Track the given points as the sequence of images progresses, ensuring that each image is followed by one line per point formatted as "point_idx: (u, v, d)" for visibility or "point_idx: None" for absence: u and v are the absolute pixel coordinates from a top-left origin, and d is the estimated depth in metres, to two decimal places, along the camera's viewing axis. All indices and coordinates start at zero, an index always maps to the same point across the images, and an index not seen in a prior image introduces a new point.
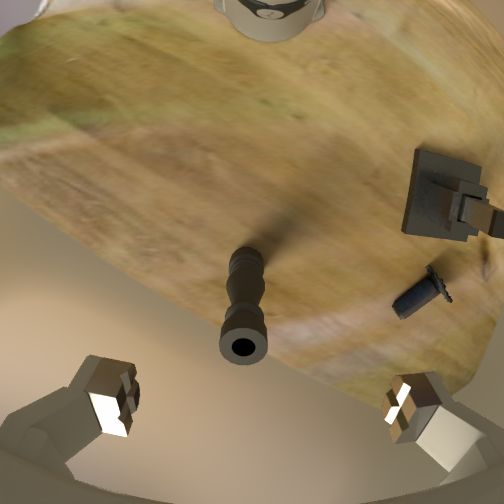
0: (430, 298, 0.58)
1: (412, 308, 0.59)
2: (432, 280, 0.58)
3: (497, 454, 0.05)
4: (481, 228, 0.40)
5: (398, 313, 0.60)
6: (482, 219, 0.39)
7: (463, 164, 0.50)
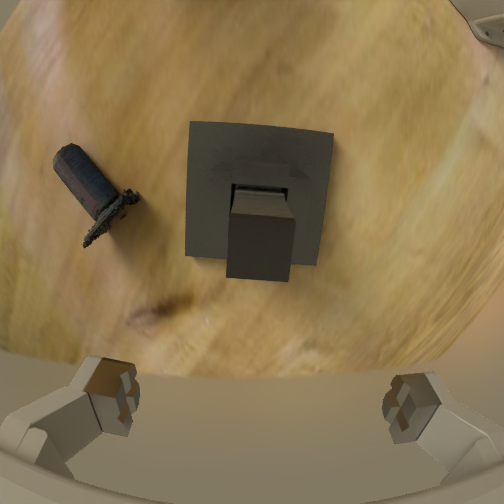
0: (86, 202, 0.34)
1: (68, 172, 0.33)
2: None
3: (497, 454, 0.05)
4: (238, 206, 0.22)
5: (61, 150, 0.32)
6: (257, 207, 0.22)
7: (317, 224, 0.37)
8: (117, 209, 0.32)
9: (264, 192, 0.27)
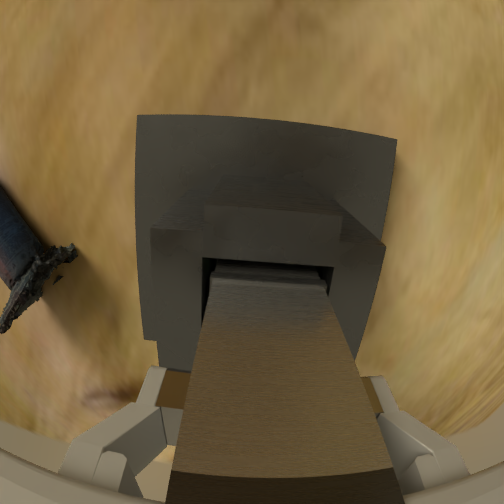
0: None
1: None
2: None
3: (440, 474, 0.05)
4: (204, 400, 0.06)
5: None
6: (269, 399, 0.06)
7: None
8: (29, 287, 0.17)
9: (280, 282, 0.11)
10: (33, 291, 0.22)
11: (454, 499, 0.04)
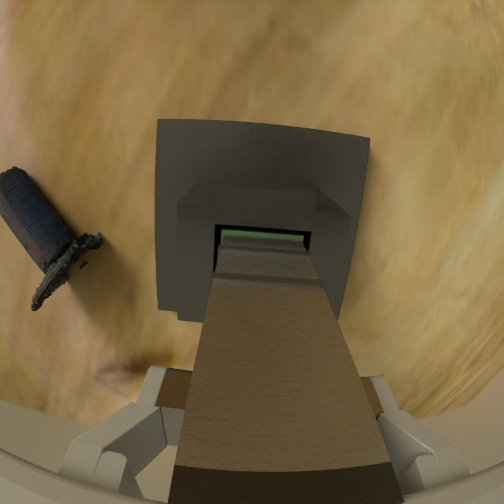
0: (31, 250, 0.23)
1: (8, 209, 0.21)
2: None
3: (441, 474, 0.05)
4: (205, 397, 0.06)
5: None
6: (269, 396, 0.06)
7: (342, 268, 0.26)
8: (66, 267, 0.21)
9: (279, 282, 0.12)
10: (62, 274, 0.26)
11: (454, 499, 0.04)
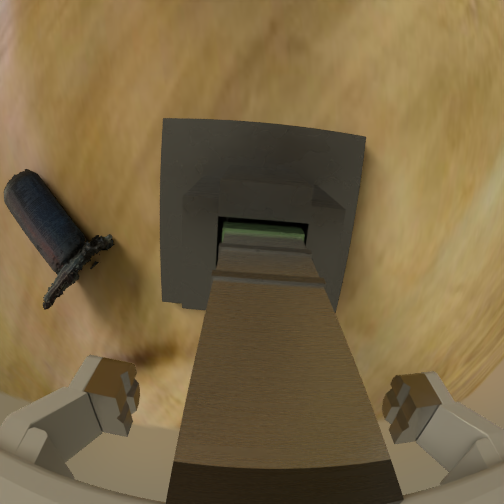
0: (43, 251, 0.24)
1: (20, 211, 0.23)
2: (81, 250, 0.26)
3: (497, 454, 0.05)
4: (205, 394, 0.06)
5: (11, 181, 0.23)
6: (269, 393, 0.06)
7: (340, 262, 0.27)
8: (79, 268, 0.23)
9: (280, 280, 0.12)
10: (72, 274, 0.28)
11: (454, 499, 0.04)
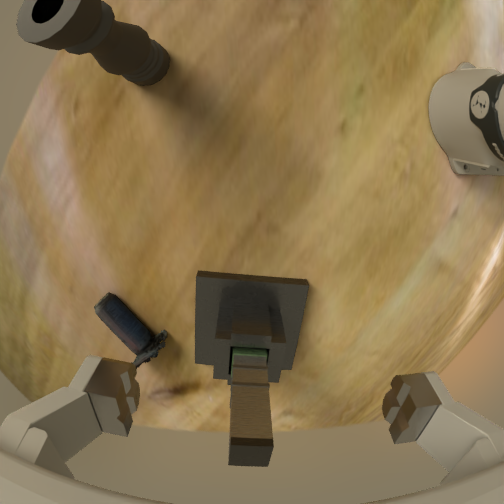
0: (128, 343, 0.46)
1: (111, 322, 0.45)
2: (150, 342, 0.47)
3: (497, 454, 0.05)
4: (235, 423, 0.28)
5: (101, 303, 0.44)
6: (248, 422, 0.29)
7: (293, 345, 0.49)
8: (155, 356, 0.45)
9: (254, 385, 0.34)
10: None
11: (454, 499, 0.04)
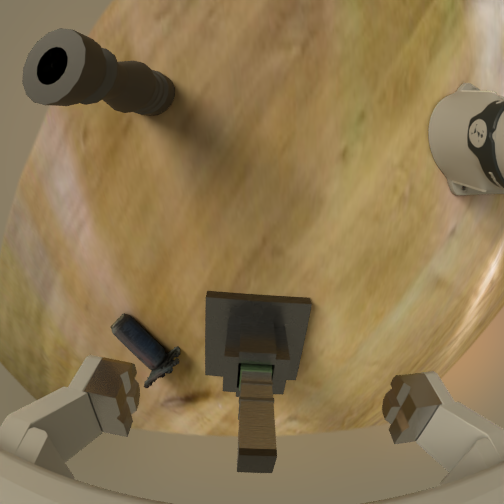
0: (144, 360, 0.49)
1: (127, 341, 0.48)
2: (165, 358, 0.51)
3: (497, 454, 0.05)
4: (243, 435, 0.31)
5: (118, 324, 0.48)
6: (255, 434, 0.31)
7: (297, 358, 0.52)
8: (170, 372, 0.48)
9: (260, 400, 0.37)
10: None
11: (454, 499, 0.04)
